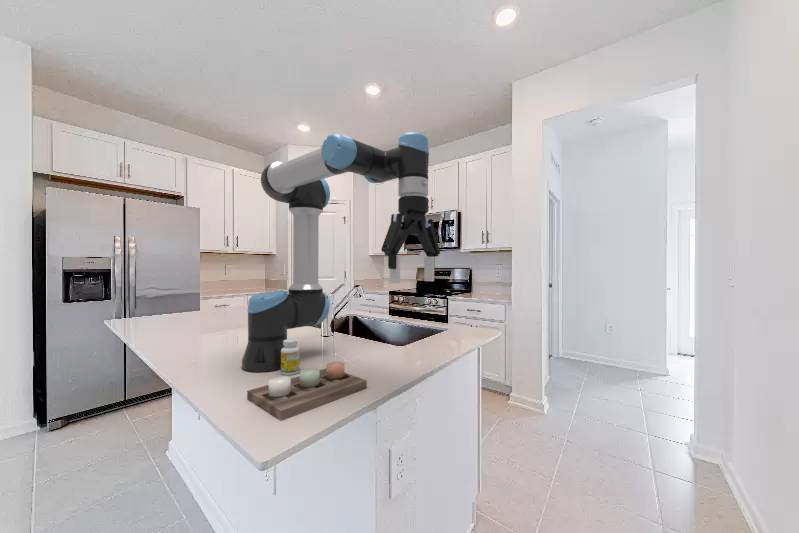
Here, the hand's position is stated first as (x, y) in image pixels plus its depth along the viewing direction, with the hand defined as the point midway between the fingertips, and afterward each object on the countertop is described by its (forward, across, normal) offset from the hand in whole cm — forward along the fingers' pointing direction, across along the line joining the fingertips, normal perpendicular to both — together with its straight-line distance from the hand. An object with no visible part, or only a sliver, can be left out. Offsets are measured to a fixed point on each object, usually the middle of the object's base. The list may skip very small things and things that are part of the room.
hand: (413, 282), depth 81 cm
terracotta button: (+26, -9, +19) cm, 33 cm away
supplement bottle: (+28, -12, +37) cm, 48 cm away
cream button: (+26, -25, +19) cm, 41 cm away
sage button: (+26, -17, +19) cm, 36 cm away
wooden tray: (+28, -17, +19) cm, 38 cm away
